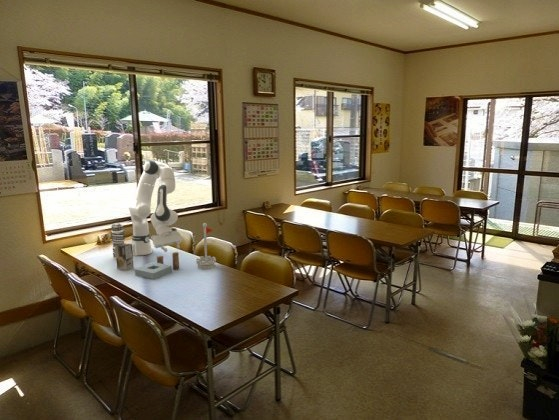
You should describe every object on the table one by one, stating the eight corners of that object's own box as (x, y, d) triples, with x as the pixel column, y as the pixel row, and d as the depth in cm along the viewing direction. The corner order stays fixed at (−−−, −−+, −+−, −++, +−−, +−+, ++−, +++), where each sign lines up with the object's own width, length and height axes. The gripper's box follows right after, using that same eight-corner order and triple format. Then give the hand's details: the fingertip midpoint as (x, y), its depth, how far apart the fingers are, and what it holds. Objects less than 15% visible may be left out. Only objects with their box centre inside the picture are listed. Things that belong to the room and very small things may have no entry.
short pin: (156, 266, 273) (155, 257, 271) (160, 264, 276) (159, 255, 275) (160, 267, 271) (160, 257, 270) (164, 265, 274) (164, 256, 273)
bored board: (135, 275, 256) (134, 269, 255) (153, 267, 270) (153, 262, 269) (153, 279, 248) (153, 273, 248) (172, 271, 262) (171, 265, 261)
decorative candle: (123, 259, 288) (120, 225, 283) (110, 259, 288) (107, 225, 283) (128, 255, 297) (125, 222, 292) (115, 255, 297) (113, 222, 292)
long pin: (171, 269, 266) (170, 253, 264) (175, 267, 270) (175, 251, 268) (176, 270, 264) (175, 254, 262) (180, 268, 268) (179, 252, 266)
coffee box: (134, 267, 271) (132, 244, 268) (126, 270, 265) (125, 246, 262) (123, 265, 275) (122, 242, 271) (116, 268, 269) (114, 244, 266)
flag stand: (197, 270, 265) (195, 225, 259) (195, 264, 277) (194, 221, 271) (217, 268, 268) (215, 224, 262) (214, 262, 280) (213, 220, 275)
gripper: (151, 233, 266) (159, 250, 261) (178, 227, 280) (187, 244, 275) (148, 238, 270) (156, 255, 265) (175, 233, 284) (183, 249, 279)
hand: (172, 249), depth 270 cm, fingers open, 8 cm apart
